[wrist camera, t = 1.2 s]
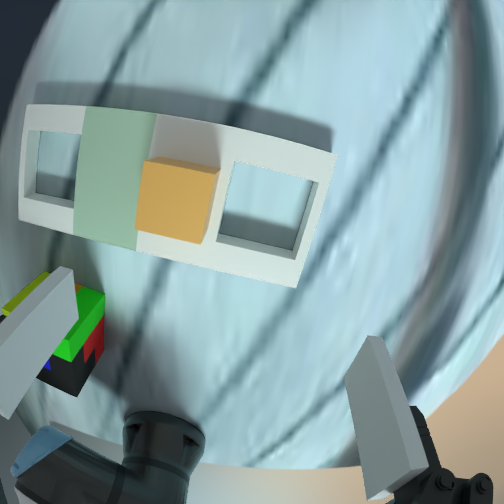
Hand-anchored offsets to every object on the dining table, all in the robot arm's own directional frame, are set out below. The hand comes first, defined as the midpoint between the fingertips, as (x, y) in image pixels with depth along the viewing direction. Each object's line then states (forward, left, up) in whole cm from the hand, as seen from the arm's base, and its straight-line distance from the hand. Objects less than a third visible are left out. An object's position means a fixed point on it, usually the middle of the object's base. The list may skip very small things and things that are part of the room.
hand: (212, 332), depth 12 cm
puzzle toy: (-19, +19, -20) cm, 34 cm away
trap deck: (+1, +9, -20) cm, 22 cm away
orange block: (+1, +5, -18) cm, 18 cm away
